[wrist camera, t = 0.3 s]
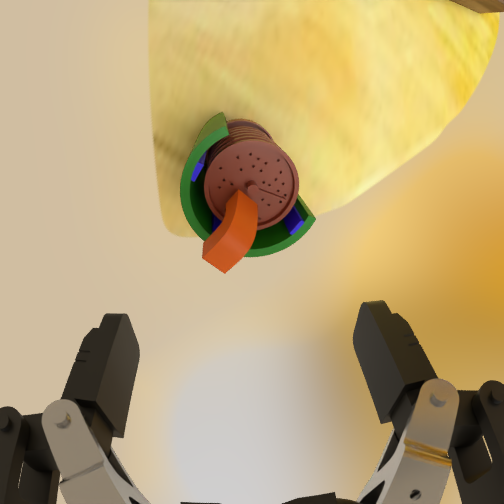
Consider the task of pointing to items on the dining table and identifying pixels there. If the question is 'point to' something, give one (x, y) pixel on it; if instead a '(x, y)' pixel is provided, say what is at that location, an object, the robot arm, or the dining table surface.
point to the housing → (482, 5)
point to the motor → (241, 193)
